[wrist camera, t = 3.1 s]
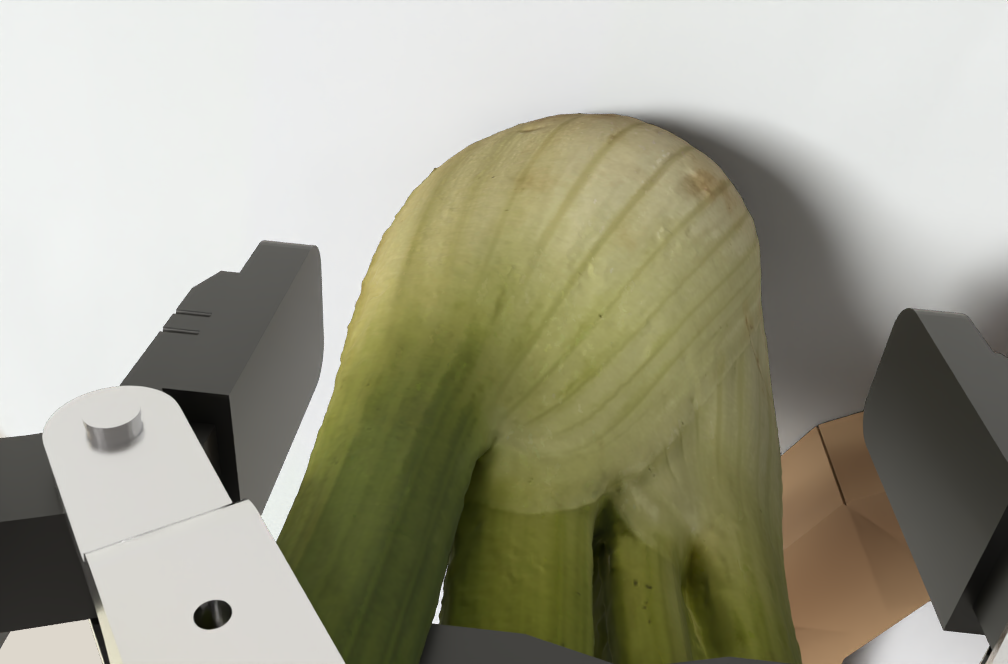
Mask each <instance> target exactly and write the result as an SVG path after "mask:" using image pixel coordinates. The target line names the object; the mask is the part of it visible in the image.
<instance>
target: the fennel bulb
mask: <svg viewBox="0 0 1008 664" xmlns="http://www.w3.org/2000/svg"><path fill="white" fill-rule="evenodd" d="M340 361H341V365H340V368H339V370H338V372H337V375H336V379H335V387H334V392H333V395H332V397H331V400H330V403H329V405H328V409H327V412H326V414H325V416H324V420H323V424H322V426H321V427H320V429H319V431H318V434H317V439H316V442H315V445H314V449H313V450H312V453H311V456H310V460H309V463H308V467H307V470H306V473H305V475H304V478H303V481H302V483H301V486H300V489H299V492H298V494H297V496H296V498H295V500H294V503H293V505H292V508H291V510H290V512H289V514H288V516H287V519H286V521H285V524H284V526H283V528H282V530H281V533H280V535H279V537H278V539H277V541H276V544H277V545H278V547H279V549H280V551H281V552H282V554H283V556H284V557H285V559H286V561H287V563H288V564H289V566H290V568H291V570H292V571H293V573H294V575H295V577H296V578H297V580H298V582H299V584H300V585H301V587H302V589H303V591H304V592H305V594H306V596H307V598H308V599H309V601H310V603H311V605H312V606H313V608H314V610H315V612H316V613H317V615H318V617H319V619H320V620H321V622H322V624H323V626H324V627H325V629H326V631H327V633H328V634H329V636H330V638H331V640H332V641H333V643H334V645H335V646H336V648H337V650H338V652H339V653H340V655H341V657H342V659H343V660H344V662H345V664H419V661H420V658H421V655H422V652H423V649H424V646H425V642H426V638H427V635H428V633H429V630H430V627H431V624H432V621H433V619H434V616H435V612H436V608H437V605H438V601H439V595H440V590H441V586H442V582H443V580H444V587H443V591H444V594H443V599H442V601H441V604H442V607H441V611H440V613H439V620H440V622H439V624H441V625H450V626H458V627H467V628H476V629H485V630H494V631H503V632H512V633H521V634H527V635H530V636H533V637H535V638H538V639H541V640H544V641H547V642H550V643H553V644H556V645H559V646H562V647H565V648H568V649H571V650H574V651H577V652H580V653H583V654H586V655H589V656H592V657H595V658H598V659H601V660H604V661H607V662H610V663H613V664H670V663H679V662H687V661H696V660H704V659H713V658H721V657H737V658H746V659H755V660H764V661H773V662H782V663H791V664H802V659H801V652H800V646H799V643H798V641H797V639H796V634H795V628H794V625H793V621H792V617H791V609H790V603H789V598H788V590H787V582H786V577H785V567H784V553H783V534H782V517H783V502H782V493H783V483H782V467H781V454H780V446H779V438H778V428H777V423H776V415H775V408H774V401H773V394H772V388H771V377H770V368H769V358H768V348H767V339H766V335H765V330H764V320H763V312H762V305H761V266H760V245H759V240H758V236H757V233H756V227H755V225H754V221H753V218H752V217H751V215H750V213H749V211H748V210H747V208H746V206H745V204H744V202H743V199H742V197H741V196H740V194H739V193H738V191H737V190H736V188H735V187H734V185H733V184H732V183H731V181H730V180H729V179H728V177H727V176H726V175H725V173H724V172H723V171H722V169H721V168H720V167H719V166H718V165H717V164H716V163H715V162H714V161H713V160H712V159H711V158H709V157H708V156H707V155H705V154H704V153H702V152H701V151H699V150H698V149H696V148H695V147H693V146H691V145H690V144H689V143H687V142H686V141H685V140H683V139H681V138H679V137H678V136H676V135H674V134H672V133H671V132H669V131H667V130H664V129H662V128H660V127H657V126H655V125H652V124H648V123H646V122H643V121H641V120H639V119H636V118H633V117H628V116H621V115H617V114H581V113H578V114H562V115H555V116H549V117H545V118H542V119H538V120H534V121H530V122H527V123H522V124H518V125H516V126H514V127H512V128H509V129H506V130H504V131H501V132H498V133H496V134H494V135H492V136H490V137H487V138H485V139H482V140H480V141H477V142H475V143H473V144H471V145H469V146H468V147H466V148H465V149H463V150H462V151H460V152H459V153H457V154H456V155H454V156H453V157H451V158H450V159H449V160H447V161H446V162H445V163H444V164H443V165H441V166H440V167H438V168H434V170H433V171H432V172H431V174H430V175H429V176H428V177H427V178H426V179H425V180H424V181H423V182H422V184H420V185H419V186H418V187H417V188H416V189H415V190H413V192H412V193H411V194H410V196H409V197H408V199H407V200H406V203H405V204H404V206H403V207H402V208H401V210H400V211H399V212H398V213H397V214H396V216H395V220H394V221H393V223H392V225H391V226H390V227H389V228H388V229H387V230H386V231H385V233H384V234H383V236H382V240H381V241H380V243H379V245H378V247H377V250H376V253H375V254H374V255H373V257H372V261H371V264H370V266H369V269H368V272H367V274H366V276H365V278H364V279H363V281H362V289H361V294H360V296H359V298H358V300H357V302H356V305H355V311H354V313H353V317H352V319H351V322H350V323H349V325H348V332H347V337H346V340H345V345H344V349H343V352H342V354H341V358H340ZM447 566H448V567H447ZM446 569H447V572H446ZM445 573H446V576H445ZM444 576H445V578H444Z"/></svg>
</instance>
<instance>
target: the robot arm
mask: <svg viewBox="0 0 1008 664" xmlns="http://www.w3.org/2000/svg"><path fill="white" fill-rule="evenodd" d="M323 350H324V332H323V305H322V277H321V258H320V253H319V249H318V247H317V246H314V245H305V244H295V243H285V242H275V241H266V240H264V241H261V242H260V243H259V245H258V246H257V248H256V249H255V251H254V252H253V254H252V255H251V257H250V258H249V260H248V261H247V263H246V264H245V266H244V267H243V269H242V270H241V271H240V273H236V272H226V271H220V272H219V273H217V274H215V275H213V276H212V277H210V278H208V279H207V280H205V281H203V282H202V283H200V284H198V285H197V286H195V287H193V288H192V289H191V290H190V292H189V293H188V294H187V296H186V297H185V298H184V300H183V301H182V302H181V304H180V305H179V306H178V308H177V309H176V314H173V315H172V316H171V317H170V319H169V320H168V321H167V323H166V324H165V325H164V327H163V332H161V331H160V332H159V333H158V335H157V336H156V337H155V339H154V340H153V341H152V343H151V344H150V345H149V347H148V348H147V349H146V351H145V352H144V353H143V355H142V356H141V358H140V359H139V360H138V362H137V363H136V364H135V366H134V367H133V368H132V370H131V371H130V372H129V374H128V375H127V376H126V378H125V379H124V380H123V382H122V383H121V384H120V386H116V387H109V388H104V389H99V390H96V391H92V392H89V393H86V394H84V395H81V396H79V397H77V398H75V399H73V400H71V401H69V402H67V403H66V404H64V405H63V406H62V407H60V408H59V409H58V410H57V411H56V412H55V413H53V414H52V415H51V417H50V418H49V419H48V421H47V422H46V424H45V427H44V429H43V433H39V434H33V435H26V436H17V437H7V438H0V648H1V646H2V645H3V643H4V641H5V639H6V638H7V636H8V634H9V633H10V631H15V630H22V629H29V628H35V627H41V626H48V625H54V624H61V623H66V622H73V621H80V620H86V619H88V620H89V624H90V627H91V630H92V633H93V636H94V639H95V642H96V645H97V649H98V651H99V655H100V658H101V661H102V664H345V662H344V660H343V659H342V657H341V655H340V653H339V652H338V650H337V648H336V646H335V645H334V643H333V641H332V640H331V638H330V636H329V634H328V633H327V631H326V629H325V627H324V626H323V624H322V622H321V620H320V619H319V617H318V615H317V613H316V612H315V610H314V608H313V606H312V605H311V603H310V601H309V599H308V598H307V596H306V594H305V592H304V591H303V589H302V587H301V585H300V584H299V582H298V580H297V578H296V577H295V575H294V573H293V571H292V570H291V568H290V566H289V564H288V563H287V561H286V559H285V557H284V556H283V554H282V552H281V551H280V549H279V547H278V545H277V544H276V542H275V540H274V538H273V537H272V535H271V533H270V531H269V530H268V528H267V526H266V524H265V523H264V521H263V519H262V517H261V515H262V512H263V510H264V508H265V505H266V503H267V501H268V498H269V496H270V494H271V491H272V489H273V487H274V484H275V482H276V480H277V477H278V475H279V473H280V470H281V468H282V466H283V463H284V461H285V459H286V456H287V454H288V452H289V449H290V447H291V445H292V442H293V440H294V438H295V435H296V433H297V430H298V428H299V426H300V423H301V421H302V419H303V416H304V414H305V412H306V409H307V407H308V405H309V402H310V400H311V398H312V395H313V393H314V391H315V388H316V386H317V383H318V380H319V377H320V372H321V367H322V361H323ZM863 435H864V440H865V444H866V447H867V449H868V451H869V454H870V456H871V459H872V461H873V463H874V466H875V468H876V471H877V473H878V475H879V478H880V480H881V482H882V485H883V487H884V490H885V492H886V494H887V497H888V499H889V502H890V504H891V506H892V509H893V511H894V514H895V516H896V518H897V521H898V523H899V526H900V528H901V530H902V533H903V535H904V537H905V540H906V542H907V545H908V547H909V549H910V552H911V554H912V557H913V559H914V561H915V564H916V566H917V569H918V571H919V573H920V576H921V578H922V580H923V583H924V585H925V588H926V590H927V592H928V595H929V597H930V600H931V602H932V604H933V607H934V609H935V612H936V614H937V616H938V619H939V621H940V624H941V626H942V628H943V630H944V631H953V632H962V633H971V634H980V635H985V636H986V638H987V640H988V642H989V645H990V646H989V648H988V649H987V651H986V653H985V655H984V656H983V658H982V660H981V662H980V664H1008V358H1006V357H1005V356H1004V355H1002V354H1001V353H994V352H993V351H992V350H991V348H990V347H989V345H988V344H987V342H986V341H985V340H984V338H983V337H982V335H981V334H980V332H979V331H978V330H977V328H976V327H975V325H974V324H973V322H972V321H971V320H970V318H969V317H968V316H966V315H965V314H961V313H951V312H942V311H932V310H922V309H912V308H907V309H905V310H903V311H902V312H901V313H900V314H899V316H898V317H897V319H896V321H895V323H894V326H893V328H892V331H891V334H890V336H889V339H888V342H887V345H886V347H885V350H884V353H883V355H882V358H881V361H880V364H879V366H878V369H877V372H876V375H875V377H874V380H873V383H872V385H871V388H870V391H869V394H868V396H867V399H866V403H865V407H864V413H863ZM419 664H613V663H610V662H607V661H604V660H601V659H598V658H595V657H592V656H589V655H586V654H583V653H580V652H577V651H574V650H571V649H568V648H565V647H562V646H559V645H556V644H553V643H550V642H547V641H544V640H541V639H538V638H535V637H533V636H530V635H527V634H521V633H512V632H503V631H494V630H485V629H476V628H467V627H458V626H450V625H441V624H431V627H430V630H429V633H428V635H427V638H426V642H425V646H424V649H423V652H422V655H421V658H420V661H419ZM670 664H791V663H782V662H773V661H764V660H755V659H746V658H737V657H721V658H713V659H704V660H696V661H687V662H679V663H670Z"/></svg>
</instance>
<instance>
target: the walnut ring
mask: <svg viewBox="0 0 1008 664" xmlns="http://www.w3.org/2000/svg"><path fill="white" fill-rule="evenodd" d="M863 413H864V411H863V412H860V413H856V414H853V415H850V416H846V417H843V418H840V419H836V420H833V421H830V422H826V423H823V424H820V425H818V426H819V428H818V427H816V426H815V427H814V428H813V429H812V430H811V431H810V432H808V433H807V434H806V435H805V436H804V437H803V438H802V439H800V440H799V441H798V442H797V443H796V444H795V445H793V446H792V447H791V448H790V449H789V450H788V451H786V452H785V453H784V454H783V455H782V456H781V467H782V483H783V493H782V502H783V517H782V534H783V553H784V567H785V577H786V582H787V590H788V598H789V603H790V609H791V617H792V621H793V625H794V628H795V634H796V639H797V641H798V643H799V646H800V652H801V659H802V664H842V662H843V660H844V658H846V657H847V656H849V655H850V654H852V653H853V652H855V651H856V650H858V649H859V648H861V647H862V646H864V645H865V644H867V643H868V642H869V641H871V640H872V639H874V638H875V637H877V636H878V635H880V634H881V633H883V632H884V631H886V630H887V629H889V628H890V627H892V626H893V625H895V624H896V623H898V622H899V621H901V620H902V619H903V618H905V617H906V616H908V615H909V614H911V613H912V612H914V611H915V610H917V609H918V608H920V607H921V606H923V605H924V604H926V603H927V602H929V601H931V600H930V597H929V595H928V592H927V590H926V588H925V585H924V583H923V580H922V578H921V576H920V573H919V571H918V569H917V566H916V564H915V561H914V559H913V557H912V554H911V552H910V549H909V547H908V545H907V542H906V540H905V537H904V535H903V533H902V530H901V528H900V526H899V523H898V521H897V518H896V516H895V514H894V511H893V509H892V506H891V504H890V502H889V499H888V497H887V494H886V492H885V490H884V487H883V485H882V482H881V480H880V478H879V475H878V473H877V471H876V468H875V466H874V463H873V461H872V459H871V456H870V454H869V451H868V449H867V447H866V444H865V440H864V435H863Z"/></svg>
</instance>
